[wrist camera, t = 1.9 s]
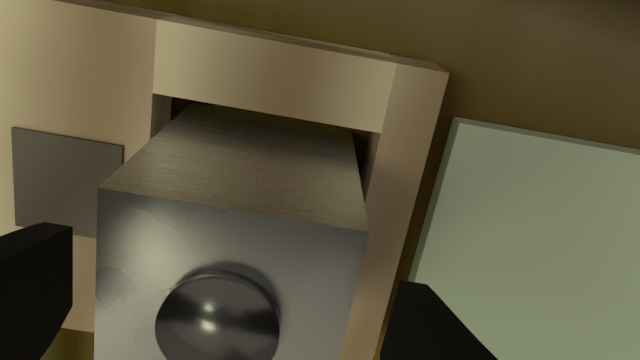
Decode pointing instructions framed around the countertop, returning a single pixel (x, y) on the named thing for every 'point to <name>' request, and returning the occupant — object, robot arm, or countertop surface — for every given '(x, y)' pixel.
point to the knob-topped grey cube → (230, 241)
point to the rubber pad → (536, 242)
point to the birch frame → (205, 86)
